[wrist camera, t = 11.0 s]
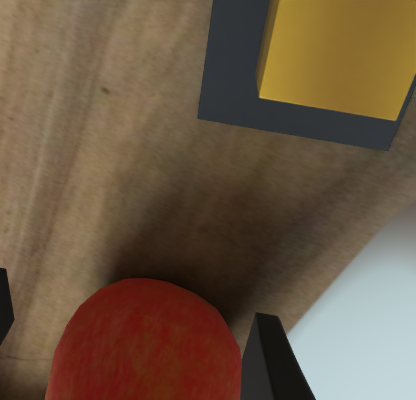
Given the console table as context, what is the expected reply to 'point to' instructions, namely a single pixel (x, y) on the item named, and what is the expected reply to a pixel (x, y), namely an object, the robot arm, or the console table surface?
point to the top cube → (339, 55)
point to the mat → (264, 108)
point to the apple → (146, 347)
